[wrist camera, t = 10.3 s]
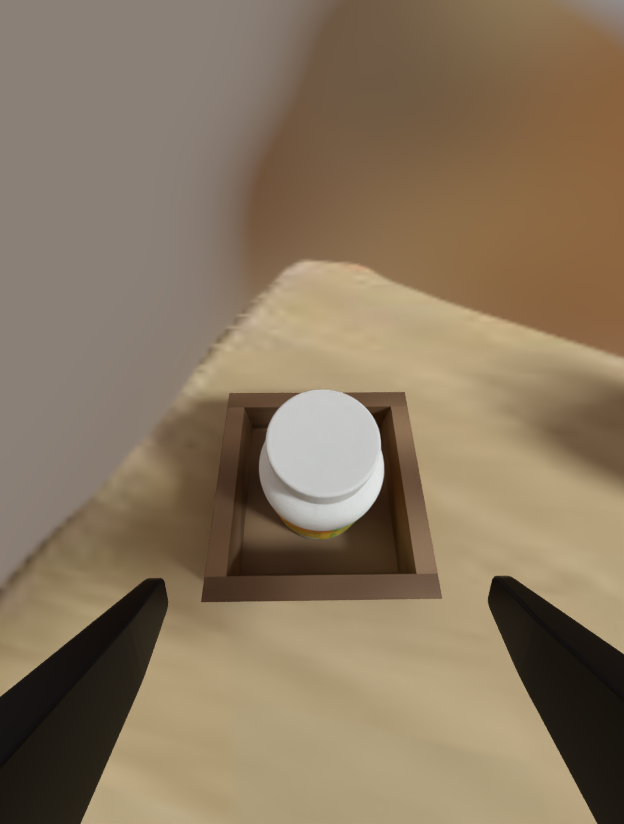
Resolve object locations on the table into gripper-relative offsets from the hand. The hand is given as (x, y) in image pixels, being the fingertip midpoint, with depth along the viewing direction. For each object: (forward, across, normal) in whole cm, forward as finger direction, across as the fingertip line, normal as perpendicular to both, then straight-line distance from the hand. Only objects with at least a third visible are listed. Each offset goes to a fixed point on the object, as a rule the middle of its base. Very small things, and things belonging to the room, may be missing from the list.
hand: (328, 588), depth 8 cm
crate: (+11, 0, +4) cm, 11 cm away
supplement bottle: (+10, 0, +4) cm, 11 cm away
